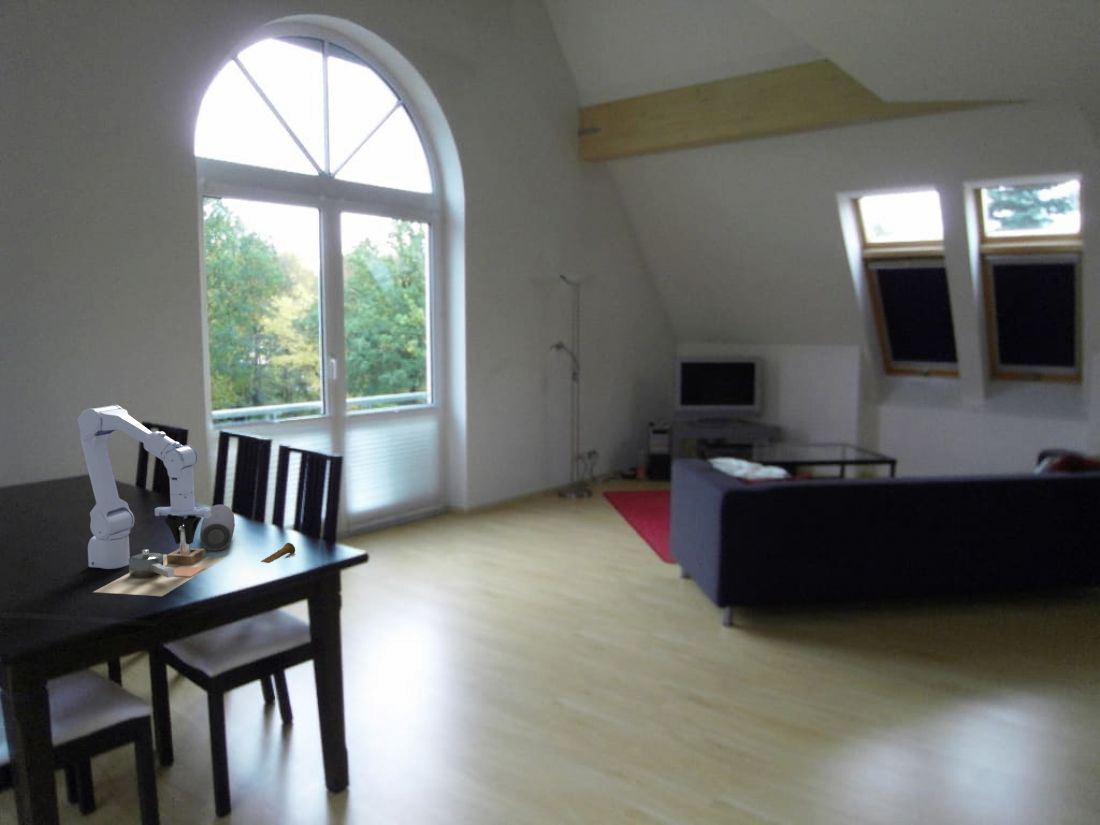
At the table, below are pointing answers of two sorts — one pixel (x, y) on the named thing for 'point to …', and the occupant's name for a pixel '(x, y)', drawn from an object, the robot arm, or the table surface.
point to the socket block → (186, 557)
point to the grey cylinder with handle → (148, 565)
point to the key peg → (183, 542)
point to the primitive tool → (280, 553)
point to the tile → (187, 571)
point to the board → (154, 580)
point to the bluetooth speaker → (217, 528)
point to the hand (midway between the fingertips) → (184, 543)
